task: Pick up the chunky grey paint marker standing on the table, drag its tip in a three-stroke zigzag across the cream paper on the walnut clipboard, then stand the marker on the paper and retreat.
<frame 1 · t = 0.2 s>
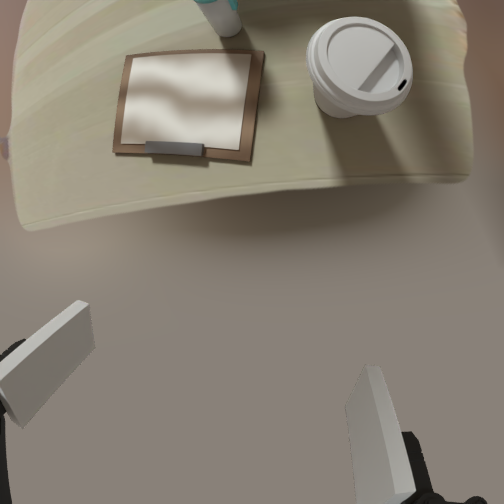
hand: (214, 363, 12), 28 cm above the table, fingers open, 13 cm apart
coffee cup: (338, 94, 32), on the table
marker: (230, 29, 31), on the table
clipboard: (182, 100, 35), on the table
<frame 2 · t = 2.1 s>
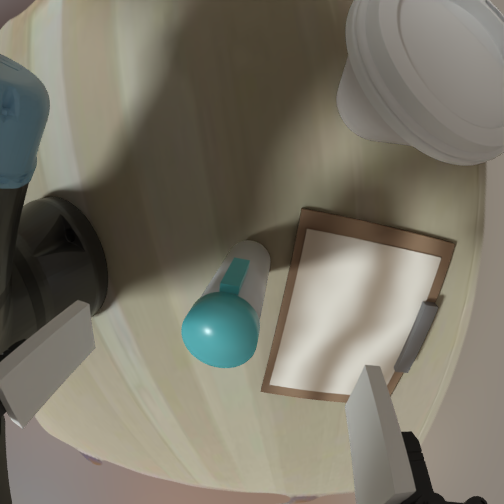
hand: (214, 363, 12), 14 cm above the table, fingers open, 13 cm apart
coffee cup: (373, 104, 21), on the table
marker: (250, 256, 26), on the table
clipboard: (355, 325, 27), on the table
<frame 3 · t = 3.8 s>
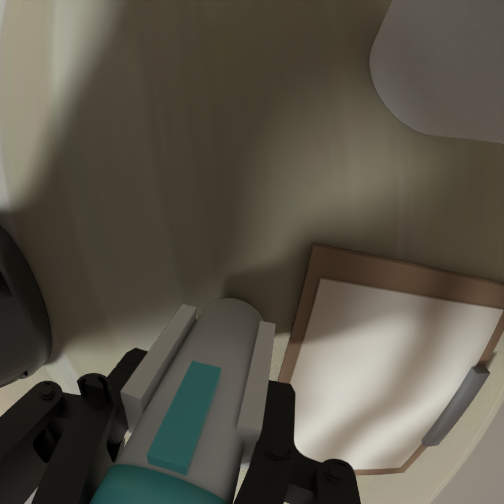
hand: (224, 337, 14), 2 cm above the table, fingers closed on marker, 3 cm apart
coffee cup: (424, 78, 11), on the table
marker: (235, 317, 16), on the table, touching gripper
clipboard: (379, 400, 17), on the table
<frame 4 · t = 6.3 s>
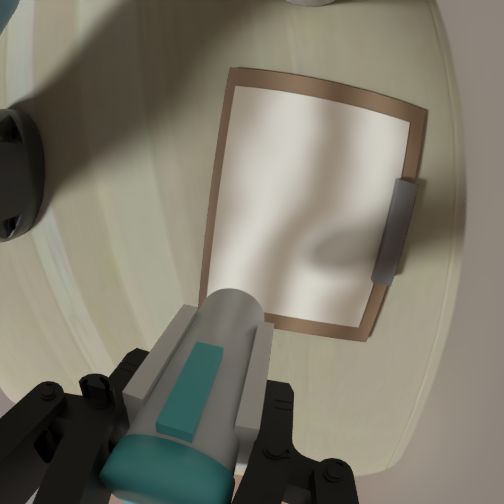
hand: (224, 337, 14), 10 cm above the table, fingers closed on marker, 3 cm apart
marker: (235, 307, 17), point 7 cm above the table, touching gripper
clipboard: (309, 212, 22), on the table
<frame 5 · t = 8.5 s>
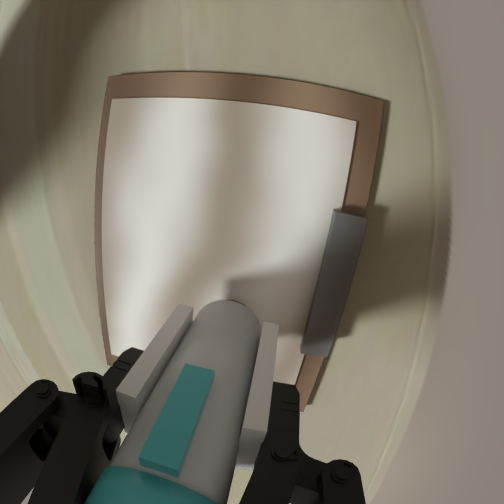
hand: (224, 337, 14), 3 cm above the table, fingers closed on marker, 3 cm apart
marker: (232, 319, 16), point 1 cm above the table, touching gripper
clipboard: (211, 259, 16), on the table
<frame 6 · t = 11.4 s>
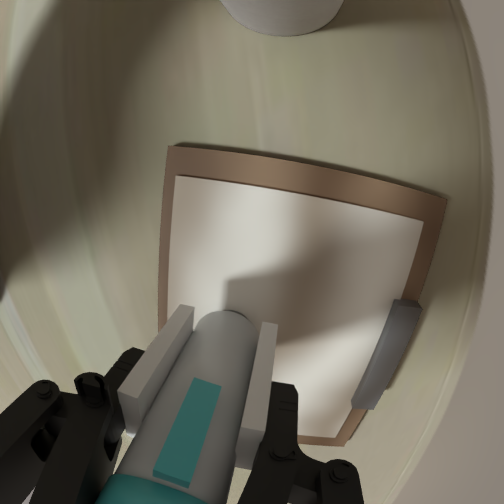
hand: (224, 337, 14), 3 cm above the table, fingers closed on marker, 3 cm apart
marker: (230, 328, 17), point 1 cm above the table, touching clipboard, gripper
clipboard: (279, 336, 17), on the table
when the fingers open (3 cm above the table, at t = 13.3 s): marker stays where it is, resting on clipboard.
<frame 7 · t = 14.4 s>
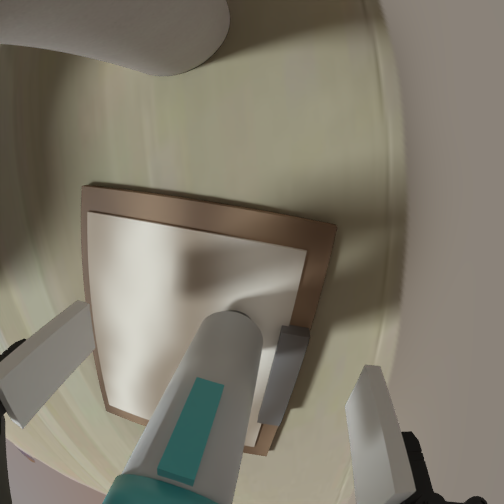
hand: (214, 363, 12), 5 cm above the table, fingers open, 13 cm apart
coffee cup: (175, 29, 13), on the table
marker: (234, 328, 17), point 1 cm above the table, touching clipboard
clipboard: (184, 349, 19), on the table
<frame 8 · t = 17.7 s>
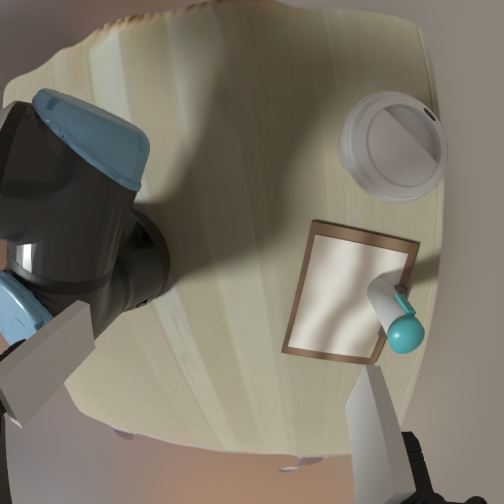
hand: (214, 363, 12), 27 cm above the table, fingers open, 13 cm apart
coffee cup: (361, 150, 33), on the table
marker: (377, 286, 37), point 1 cm above the table, touching clipboard
clipboard: (348, 301, 39), on the table
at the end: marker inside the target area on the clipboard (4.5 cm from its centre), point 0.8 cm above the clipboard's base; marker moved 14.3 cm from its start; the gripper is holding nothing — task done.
